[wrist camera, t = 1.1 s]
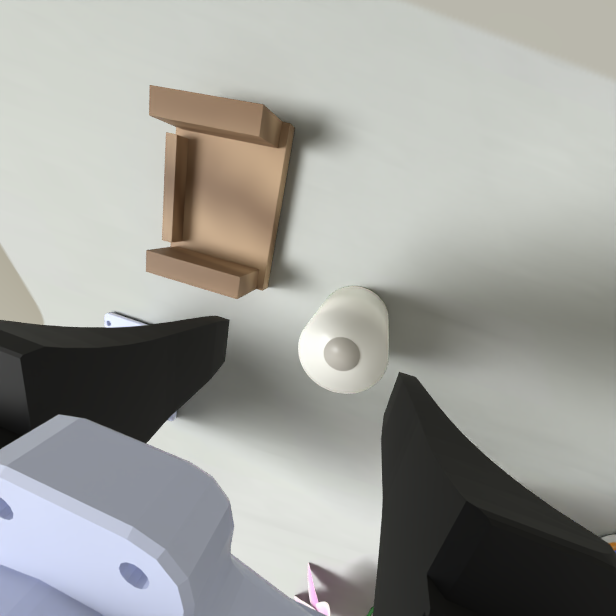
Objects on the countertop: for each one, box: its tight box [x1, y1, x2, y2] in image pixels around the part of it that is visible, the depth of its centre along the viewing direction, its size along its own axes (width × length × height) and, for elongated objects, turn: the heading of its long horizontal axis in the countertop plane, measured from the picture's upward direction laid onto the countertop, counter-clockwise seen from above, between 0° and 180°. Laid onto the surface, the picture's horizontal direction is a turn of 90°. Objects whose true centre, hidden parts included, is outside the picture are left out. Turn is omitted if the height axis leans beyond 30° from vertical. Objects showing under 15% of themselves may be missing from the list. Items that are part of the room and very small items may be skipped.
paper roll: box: [298, 286, 389, 394], centre depth 19 cm, size 5×5×6 cm
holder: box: [146, 85, 295, 299], centre depth 20 cm, size 11×8×4 cm
